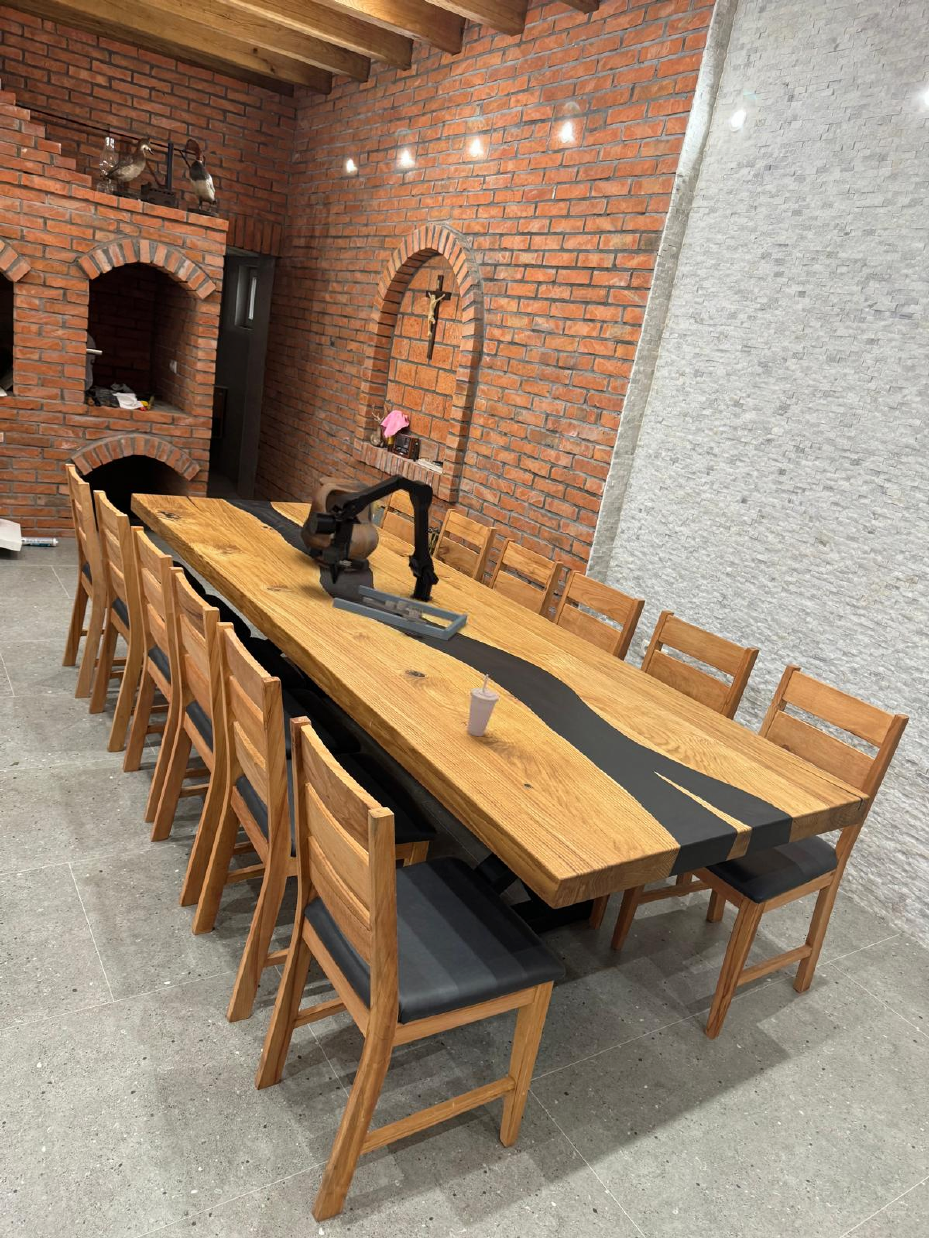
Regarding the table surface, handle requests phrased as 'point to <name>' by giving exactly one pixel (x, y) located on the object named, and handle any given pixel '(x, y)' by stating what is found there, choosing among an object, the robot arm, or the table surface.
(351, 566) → the robot arm
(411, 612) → the pulley system
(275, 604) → the table surface
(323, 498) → the jug
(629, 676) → the table surface
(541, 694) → the table surface
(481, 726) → the smoothie
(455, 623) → the track
